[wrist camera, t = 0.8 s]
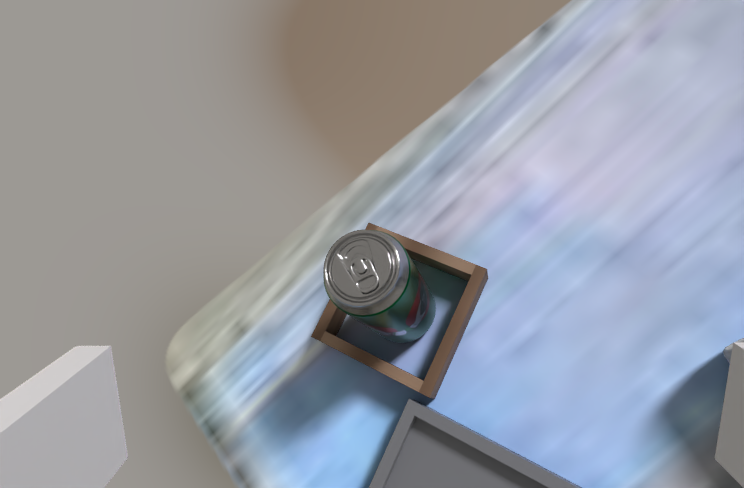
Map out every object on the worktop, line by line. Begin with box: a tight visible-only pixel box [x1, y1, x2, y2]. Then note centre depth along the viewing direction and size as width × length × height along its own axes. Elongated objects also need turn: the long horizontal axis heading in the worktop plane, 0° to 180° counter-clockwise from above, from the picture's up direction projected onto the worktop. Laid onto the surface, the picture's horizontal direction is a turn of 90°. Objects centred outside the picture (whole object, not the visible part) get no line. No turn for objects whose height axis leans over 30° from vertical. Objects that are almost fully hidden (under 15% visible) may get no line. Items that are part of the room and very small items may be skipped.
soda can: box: [324, 230, 436, 343], centre depth 32 cm, size 5×5×12 cm
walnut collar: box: [311, 223, 488, 399], centre depth 36 cm, size 10×10×2 cm
